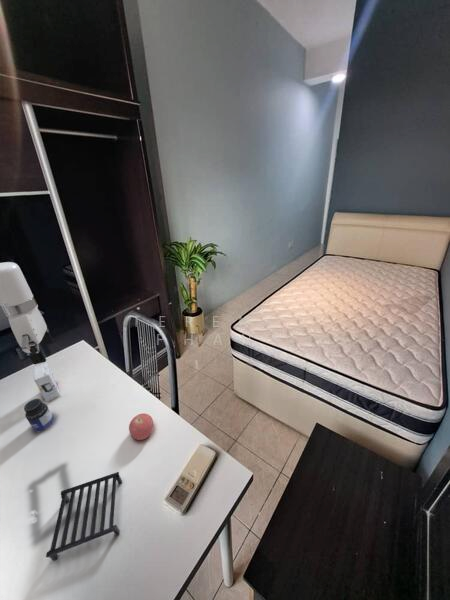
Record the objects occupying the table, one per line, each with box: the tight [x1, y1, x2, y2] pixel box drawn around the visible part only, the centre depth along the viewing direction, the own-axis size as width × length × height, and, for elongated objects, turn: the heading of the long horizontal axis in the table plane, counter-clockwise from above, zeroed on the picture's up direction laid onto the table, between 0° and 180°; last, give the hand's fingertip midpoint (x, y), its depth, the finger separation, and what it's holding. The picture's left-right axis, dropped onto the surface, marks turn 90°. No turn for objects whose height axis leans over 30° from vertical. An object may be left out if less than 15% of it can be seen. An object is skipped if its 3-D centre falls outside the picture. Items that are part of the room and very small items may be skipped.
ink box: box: [32, 362, 61, 403], centre depth 96 cm, size 9×5×12 cm, turn 37°
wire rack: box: [45, 471, 123, 562], centre depth 61 cm, size 14×13×5 cm
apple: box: [128, 413, 154, 441], centre depth 79 cm, size 7×7×8 cm
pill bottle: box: [23, 398, 55, 433], centre depth 83 cm, size 6×6×11 cm
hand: (44, 352), depth 78 cm, fingers open, 9 cm apart
